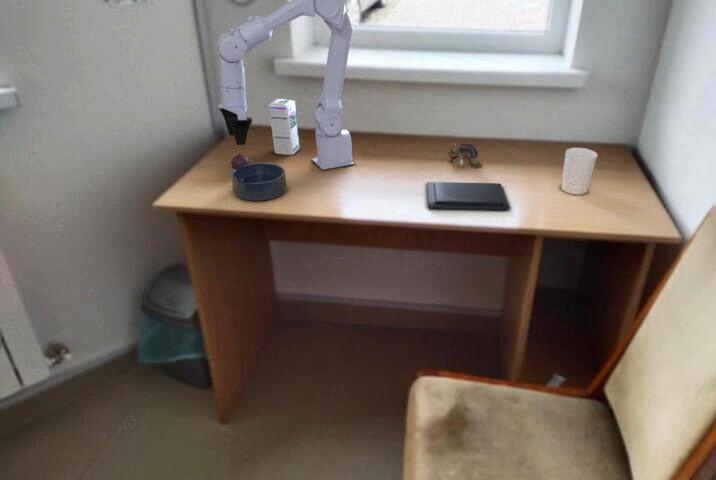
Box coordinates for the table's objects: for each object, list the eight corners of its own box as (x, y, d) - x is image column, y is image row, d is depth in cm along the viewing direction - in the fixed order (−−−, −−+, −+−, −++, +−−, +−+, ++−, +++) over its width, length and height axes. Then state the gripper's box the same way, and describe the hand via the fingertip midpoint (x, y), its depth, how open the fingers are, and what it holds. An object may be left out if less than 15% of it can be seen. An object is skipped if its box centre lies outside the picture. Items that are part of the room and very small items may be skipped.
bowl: (277, 177, 148) (275, 159, 146) (293, 196, 139) (292, 177, 136) (228, 186, 143) (225, 168, 140) (241, 206, 134) (238, 187, 131)
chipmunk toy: (446, 165, 156) (477, 163, 153) (446, 139, 156) (478, 137, 153) (452, 170, 163) (482, 169, 161) (452, 146, 163) (483, 144, 161)
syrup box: (292, 155, 162) (288, 105, 154) (273, 153, 163) (268, 103, 155) (300, 148, 167) (295, 99, 159) (281, 147, 167) (276, 98, 159)
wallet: (427, 202, 134) (427, 177, 147) (427, 209, 135) (426, 183, 148) (510, 205, 134) (503, 179, 147) (509, 212, 135) (502, 186, 148)
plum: (248, 167, 154) (245, 148, 150) (253, 174, 150) (250, 154, 147) (230, 170, 152) (227, 151, 148) (235, 177, 148) (232, 157, 145)
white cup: (572, 197, 143) (580, 160, 137) (552, 186, 149) (559, 150, 143) (595, 192, 146) (604, 156, 141) (575, 181, 152) (582, 145, 146)
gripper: (210, 79, 142) (214, 131, 149) (224, 94, 131) (228, 150, 139) (238, 78, 145) (241, 130, 152) (253, 93, 135) (256, 147, 142)
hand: (237, 139), depth 146 cm, fingers open, 7 cm apart
